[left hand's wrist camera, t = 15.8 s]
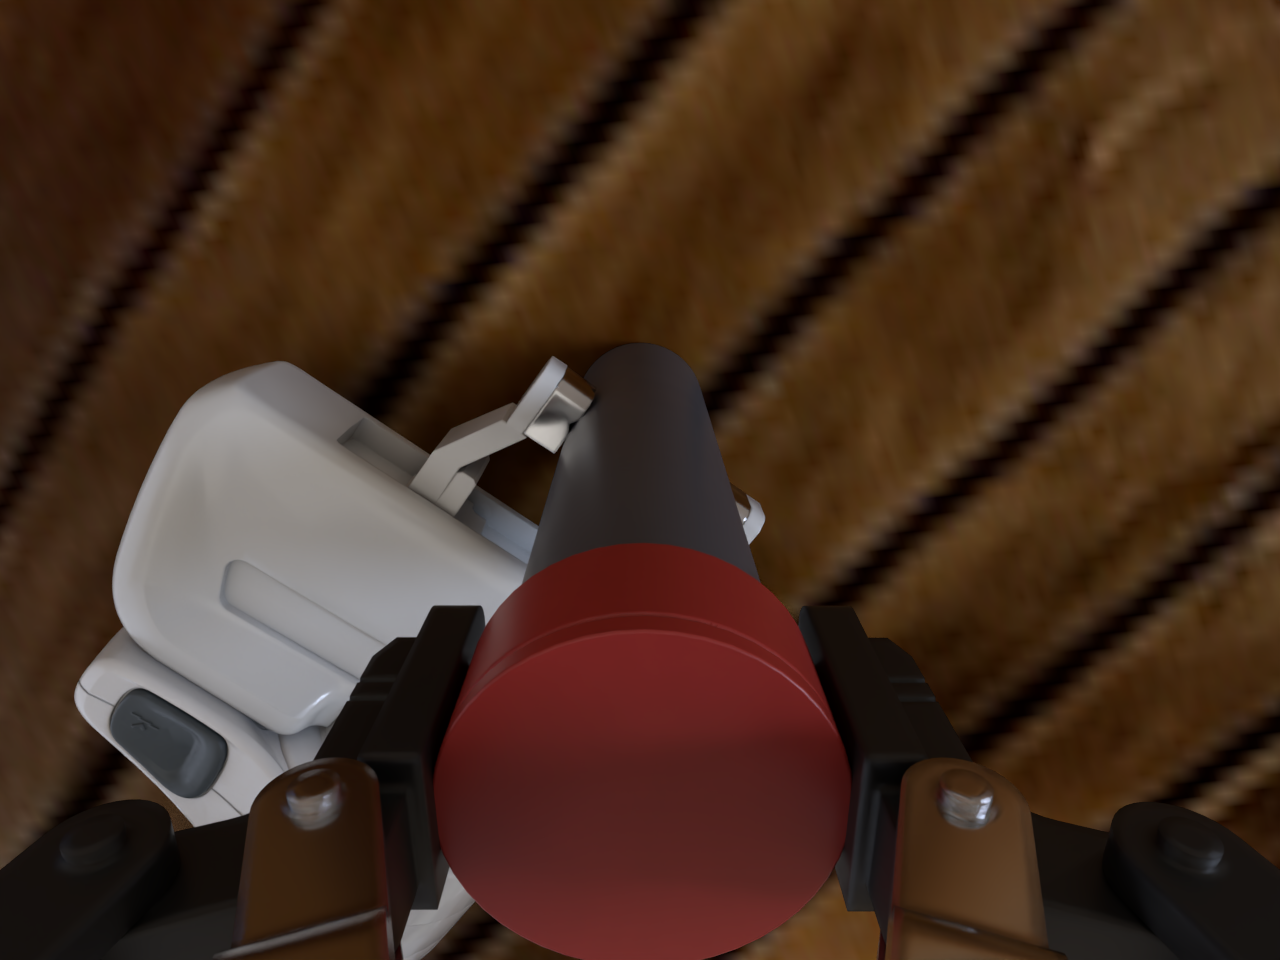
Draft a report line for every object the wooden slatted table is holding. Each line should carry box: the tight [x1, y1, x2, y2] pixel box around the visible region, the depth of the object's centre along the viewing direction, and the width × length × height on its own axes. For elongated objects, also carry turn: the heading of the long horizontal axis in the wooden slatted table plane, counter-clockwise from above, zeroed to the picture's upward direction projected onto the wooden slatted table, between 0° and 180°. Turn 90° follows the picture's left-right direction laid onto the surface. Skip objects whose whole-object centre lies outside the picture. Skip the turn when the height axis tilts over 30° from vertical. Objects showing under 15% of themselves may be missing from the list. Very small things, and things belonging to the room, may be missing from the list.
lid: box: [433, 543, 852, 960], centre depth 10 cm, size 5×5×2 cm
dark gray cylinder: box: [522, 343, 760, 584], centre depth 18 cm, size 4×4×18 cm
